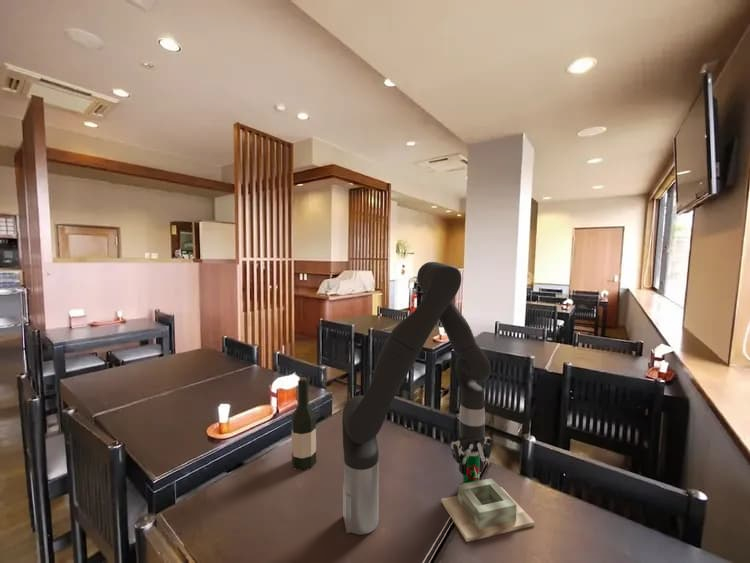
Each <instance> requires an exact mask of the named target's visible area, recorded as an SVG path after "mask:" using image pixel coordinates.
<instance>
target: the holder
mask: <svg viewBox="0 0 750 563" xmlns="http://www.w3.org/2000/svg"><path fill="white" fill-rule="evenodd" d="M457 488H458V489H457V495H454V496H453V495H452V496H449V497H444V498H443V497H442V498H441V500H440V502H441V503H442V505H443V507H444V508H445V510H446V511H447V513H448V515H449V516H450V518H451V519H452V521H453V523H454V525H456V527H457V529H458V530H459V532H460V534H461V535H462V537H463V538H464V540H465V542H466V543H467V542H472V541H475V540H481V539H485V538H489V537H493V536H497V535H501V534H505V533H506V534H507V533H510V532H513V531H517V530H522V529H526V528H530V527H535V521H534V520H533V518H531V516H530V515H528V514H527V512H526V511H525V510H524V509H523V508H522V507H521V506H520V505H519V503H518V502H517V501H516V500H515V499H514V498H512V497H511V495H509V493H508V492H507V491H506V490H505V489H504V488H503V487H502V486H500V485H499V484H498V483H497V482H496V481H495V480H494V479H493V477H492V478H486V479H480V480H479V481H474V482H469V483H464V484H463V483H460V484H458V485H457Z"/></svg>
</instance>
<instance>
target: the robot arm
mask: <svg viewBox="0 0 750 563" xmlns="http://www.w3.org/2000/svg"><path fill="white" fill-rule="evenodd" d="M416 281H417V284H418V286H419V288H420V290H421V292H422V293H423V295H424V296H423V298H422V299H421V301H420V303H419V304H418V306H417V307H416V308H415V309H414V310H413V311H412V312H411V313H410V314H409V315H407V316H406V317H405V318H404V319H403V320H402V321H400V322H399V323H398V324H397V325H395V327H394V328H393V329H392V331H391V332H390V333H389V335H388V337H387V339H386V341H385V342H384V343H383V345H382V348H381V351H380V353H379V355H378V359H377V361H376V364H375V368H374V372H373V376H372V380H371V381H370V384H369V386H368V388H367V390H366V391H365V394H364V395H355V396H352V397H351V398H349V399H348V400H347V402H346V403H345V404H344V407H343V409H342V419H341V420H342V447H343V478H344V479H343V482H342V517H343V521H344V522H343V523H344V528H345V531H346V534H349V533H352V534H353V535H360V536H361V535H362V536H363V535H367V534H371V533H372V532H374V530H375V529H377V527H378V525H379V521H380V520H379V517H380V516H379V515H380V512H379V509H380V508H379V505H380V504H379V503H380V502H379V501H380V500H379V498H380V497H379V496H380V495H379V494H380V492H379V484H380V483H379V481H380V479H379V478H380V476H379V471H380V470H379V469H380V468H379V460H380V459H379V458H380V456H379V454H380V453H379V445H378V439H377V435H379V432H380V431H381V429H382V427H383V424H384V422H385V420H386V417H387V414H388V413H389V411H390V408H391V405H392V403H393V401H394V399H395V397H396V396H397V394H398V392H399V390H400V388H401V386H402V385H403V384H404V381H405V380H406V377H407V376H408V374H409V372H410V371H411V369H412V368H413V366H414V365H415V362H416V361H417V359H418V357H419V355H420V353H421V351H422V350H423V347H424V346H425V344H426V342H427V340H428V339H429V337H430V335H431V334H432V333H433V330H434V329H435V327H436V325H437V323H438V322H440V323H441V325H442V327H443V329H444V331H445V333H446V335H447V338H448V341H449V343H450V345H451V347H452V350H453V352H454V353H455V355H456V356H458V357H457V358H456V360H455V365H454V366H455V368H454V369H455V374H456V378H457V381H458V386H459V390H460V405H459V406H460V407H459V417H458V418H459V420H458V421H459V427H458V428H459V437H458V440H456V441H453V440H450V443H449V444H450V450H451V454H452V458H453V460H454V461H455V462H456V464H458V471H459V472H460V473H461V475H462V476H463V475H466V464H465V463H466V460H467V458H469V455H470V452H471V451H475V450H477V451H479V453H480V473H482V472H483V470H484V466H485V464H484V463H485V460H486V459H489V458H490V457H491V453H492V448H493V443H494V440H493V439H492V438H491V437H490V436H489V435H485V434H486V433H485V432H486V412H485V411H486V409H485V390H484V388H483V387H482V386H480V385H479V384H478V383H477V382H476V381H478V382H485V381H487V379H489V377H490V376H491V373H492V367H491V366H492V365H491V362H490V360H489V358H488V357H487V355H486V354H485V352H484V351H483V350H482V349H481V346H480V345H478V343H477V342H476V339H475V336H474V333H473V331H472V329H471V326H470V325H469V323H468V321H467V320H466V318H465V317H464V315H463V314H462V313H461V312H460V310H459V309H458V308H457V306H456V305H455V303H454V302H453V299H455V297H456V295H457V294H458V292H459V290H460V287H461V284H462V274H461V270H460V269H458V267H456V266H455V265H452V264H447V263H443V262H437V261H429V262H425V263H423V264H422V265H421V267H419V269H418V271H417V274H416ZM464 450H465V451H466V453H465V452H464Z"/></svg>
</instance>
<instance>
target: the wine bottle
mask: <svg viewBox="0 0 750 563" xmlns="http://www.w3.org/2000/svg"><path fill="white" fill-rule="evenodd" d="M297 389H298V390H297V392H298V394H297V396H298V399H297V400H298V401H297V402H298V405H297V406H296V408H295V409H294V411H293V413H292V415H291V463H292V468H293V469H294V468H296V469H295V470H298V469H300V470H299V471H305V470H304V469H306V470H308V469H307V468H310V469H312V468H313V467H314V466H315V465H316V464H317V420H316V418H317V416H316V414H315V413H314V411H313V409H312V407H311V406H310V404H309V380H308V378H307V377H303V376H302V377H301V376H300V378H299V379H298V381H297ZM314 464H315V465H314ZM313 465H314V466H313ZM312 466H313V467H312ZM311 467H312V468H311Z"/></svg>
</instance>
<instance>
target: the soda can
mask: <svg viewBox="0 0 750 563" xmlns="http://www.w3.org/2000/svg"><path fill="white" fill-rule="evenodd" d="M464 452H465V453H466V451H465V450H464ZM465 464H466V475H462V484H464V483H469V482H474V481H479V480H481V479H480V474H481V472H480V453H479V451H477V450H475V451H471V452H470V455H469V458H467V460H466V463H465Z"/></svg>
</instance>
